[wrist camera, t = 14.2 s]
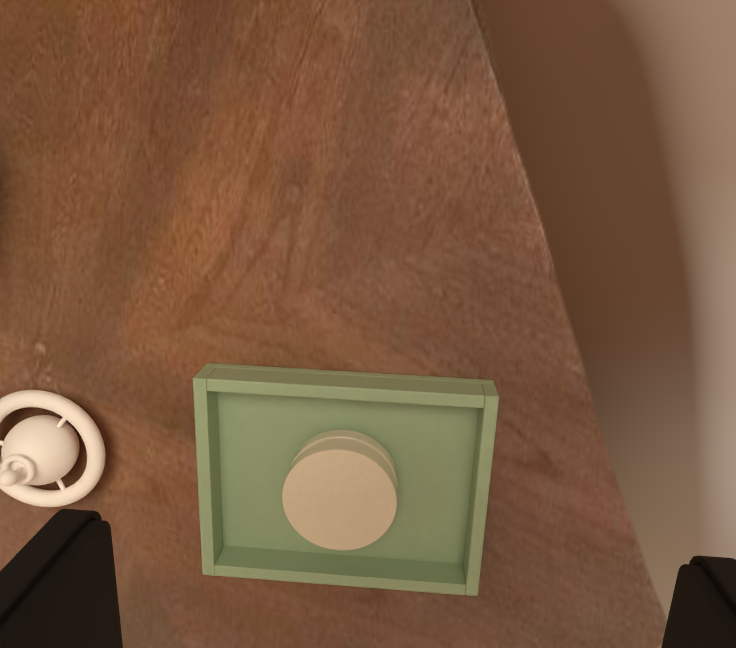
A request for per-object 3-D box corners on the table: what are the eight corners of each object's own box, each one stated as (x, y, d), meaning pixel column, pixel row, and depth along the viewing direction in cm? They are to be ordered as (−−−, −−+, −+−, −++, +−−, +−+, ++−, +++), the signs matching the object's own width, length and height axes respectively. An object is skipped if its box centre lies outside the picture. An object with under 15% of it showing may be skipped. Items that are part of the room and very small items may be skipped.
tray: (493, 379, 36) (499, 396, 34) (473, 568, 40) (477, 596, 38) (206, 362, 37) (192, 378, 35) (214, 548, 41) (202, 574, 39)
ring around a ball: (-27, 402, 39) (33, 504, 41) (-94, 443, 34) (-22, 558, 36) (81, 362, 38) (137, 470, 40) (30, 398, 33) (98, 520, 35)
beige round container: (400, 429, 37) (400, 453, 34) (395, 524, 39) (393, 555, 36) (291, 422, 37) (281, 445, 35) (291, 517, 39) (282, 546, 37)
